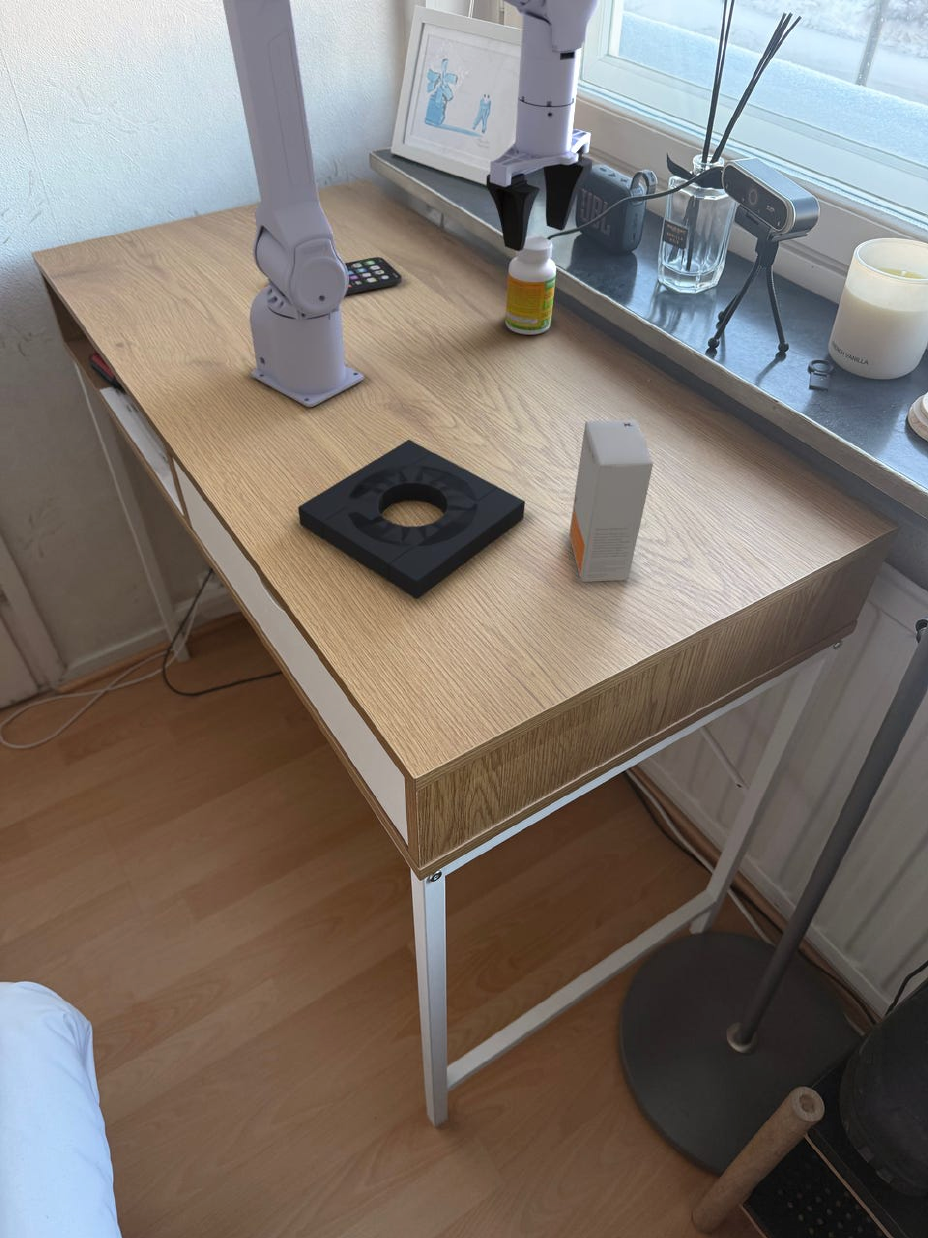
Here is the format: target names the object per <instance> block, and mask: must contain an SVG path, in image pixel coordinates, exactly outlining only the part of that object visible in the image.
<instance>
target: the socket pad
mask: <svg viewBox="0 0 928 1238" xmlns="http://www.w3.org/2000/svg"><path fill="white" fill-rule="evenodd" d="M405 501H406V502H407V501H409V502H410V501H420V502H423V503H424V502H425V503H428V504H431V505H433V506H435V507H436V508H439V509H440V510H441V511H442V513H443V515H442V516H441V517H439V518H438V519H437V520H435V521H433V522H431V523H427V524H424V525H418V526H416V525H415V526H414V525H413V526H406V525H402V524H398V523H393V522H392V521H390V520H388V519H387V518H386V517H384V516H383V512H384V511H385V510H386V509H388V508H390V507H391V506H393V505H395V504H398V503H402V502H405ZM525 504H526V501H525V500H524V499H521V498H519V497H518V496H516V495H514V494H512V493H510V492H508V491H507V490H504V489H503V488H501V487H498V486H497V485H496V484H493V483H492V482H491V481H488V480H486V479H484V478H482V477H480V476H479V475H477V474H475V473H473V472H471V471H469V470H468V469H465V468H464V467H462V466H459V465H458V464H456V463H454V462H453V461H450V460H448V459H447V458H445V457H443V456H441V455H439V454H437V453H435V452H433V451H432V450H430V449H428V448H426V447H424V446H422V445H420V444H419V443H417V442H415V441H413V440H411V439H407V440H406V441H404V442H402V443H400V444H399V445H397V446H396V447H394V448H392V449H391V450H389V451H387V452H386V453H385V454H382V455H381V456H379V457H378V458H376V459H374V460H373V461H371V462H370V463H368V464H366V465H364V466H363V467H361V468H360V469H358V470H357V471H354V472H353V473H352V474H350V475H348V476H347V477H345V478H343V479H342V480H340V481H338V482H337V483H335V484H334V485H332V486H330V487H328V488H327V489H325V490H324V491H322V492H320V493H318V494H317V495H315V496H314V497H312V498H310V499H309V500H307V501H305V502H304V503H302V504H301V505H299V506H298V507H297V511H298V516H299V524H300V526H302V527H303V528H305V529H307V531H310V532H311V533H312V534H314V535H316V536H317V537H319V538H320V539H322V540H323V541H325V542H326V543H328V544H330V545H332V546H333V547H335V548H336V549H338V550H339V551H341V552H342V553H344V554H345V555H347V556H349V557H350V558H352V559H353V560H355V561H356V562H358V563H360V564H361V565H363V566H364V567H366V568H367V569H369V570H371V571H372V572H374V573H375V574H376V575H378V576H380V577H382V578H383V579H384V580H386V581H388V582H390V583H391V584H393V586H396V587H397V588H399V589H400V590H402V591H403V592H404V593H406V594H408V595H409V596H411V597H412V598H414V599H416V600H418V599H420V598H421V597H422V596H424V595H425V594H426V593H427V592H429V591H430V590H431V589H433V588H434V587H435V586H437V585H438V584H440V583H441V582H442V581H444V579H446V578H447V577H448V576H450V575H451V574H453V573H454V572H455V571H456V570H458V569H459V568H460V567H462V566H463V565H464V564H465V563H467V562H468V561H469V560H471V559H472V558H474V557H475V556H476V555H477V554H479V553H480V552H481V551H483V550H484V549H485V548H487V547H488V546H490V545H491V544H492V543H494V541H496V540H497V539H498V538H500V537H501V536H502V535H504V534H505V533H506V532H508V531H509V530H510V529H512V528H513V527H515V525H517V524H519V522H521V521H522V520H523V519H524V517H525Z"/></svg>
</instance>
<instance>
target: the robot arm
mask: <svg viewBox="0 0 928 1238" xmlns="http://www.w3.org/2000/svg"><path fill="white" fill-rule="evenodd" d="M502 1H503V2H505V3H506V4H507V3H508V4H509V5H510V6H513V7H515V8H516V10H517V12H518V13H519V14H520V15H522V28H521V29H522V30H521V46H520V60H519V61H520V62H519V63H520V64H519V76H518V77H519V78H518V95H517V108H516V109H517V110H516V124H515V141H514V143H513V144H512V145H511V146H510V147H509V148H507V149H506V151H504V153H503V154H501V156H499V157H498V158H496V159H494V160H492V161H490V172H489V174H487V175H486V179H485V180H486V182H485V183H486V184H485V186H486V188H487V190H488V192H489V193H490V196H491V198H492V201H493V203H494V205H495V208H496V211H497V214H498V218H499V223H500V227H501V233H502V239H503V244H504V247H505V248H508V249H511V250H514V251H515V252H516V251H521V250H523V247H524V244H525V241H526V236H528V226H529V222H530V221H529V220H530V216H531V213H532V210H533V206H534V203H535V201H536V199H537V196H538V194H539V192H541V191H540V190H541V188H540V187H538V186H535V185H531V184H529V183H528V179H526V175H528V174H531V173H533V172H537V171H538V170H540V169H543V175H544V181H545V183H544V184H545V198H546V199H545V221H546V222H545V223H546V226H547V227H549V228H551V229H554V230H557V231H561V232H562V231H565V229H566V227H567V224H568V222H569V217H570V215H571V212H572V209H573V206H574V204H575V201H576V198H577V196H578V194H579V191H580V190H581V188H582V186H583V184H584V182H585V181H586V179H587V177H588V176H589V175H590V173H591V171H592V170H593V165H594V162H593V160H592V159H591V158H589V157H585V156H582V155H585V154H588V153H590V152H589V151H590V144H591V143H590V142H591V132H587V131H584V130H580V129H577V128H575V129H574V128H573V127H574V119H575V109H576V99H577V89H578V81H579V71H580V62H581V53H582V48H583V44H584V43H585V42H586V37H587V28H588V25H589V23H590V21H591V19H592V18H593V16H594V15H595V12H596V11H597V9H598V6H599V3H600V0H502ZM222 5H223V9H224V15H225V19H226V25H227V28H228V29H227V30H228V36H229V40H230V41H229V42H230V45H231V51H232V57H233V61H234V62H233V63H234V68H235V72H236V77H237V84H238V88H239V93H240V98H241V103H242V109H243V113H244V119H245V122H246V128H247V134H248V139H249V144H250V150H251V155H252V160H253V165H254V168H255V169H254V170H255V176H256V180H257V186H258V191H259V196H260V202H259V204H258V205H257V206H256V208H255V209H254V217H255V218H254V219H255V223H256V230H255V231H256V232H255V236H254V240H253V244H252V245H253V246H252V255H253V259H254V263H255V265H256V267H257V269H258V270H259V271H260V272H261V273H262V275H263V276H265V277H266V278H267V282H268V283H267V284H268V285H267V286H266V287H264V288H263V289H262V290H260V291H259V292H258V293H257V295H256V296H255V297H254V298H253V300H252V303H251V306H250V309H249V310H250V311H249V325H250V330H251V337H252V338H251V339H252V345H253V350H254V357H255V362H256V369H253V370H252V371H251V372H250V374H251V377H252V378H254V379H255V380H258V381H260V382H261V383H263V384H265V385H267V386H269V387H270V388H272V389H274V390H275V391H278V392H280V393H282V394H283V395H285V396H287V397H289V398H290V399H292V400H294V401H296V402H298V403H299V404H301V405H303V406H305V407H307V408H313V407H315V406H317V405H319V404H321V403H323V402H324V401H326V400H328V399H330V398H332V397H334V396H336V395H337V394H340V393H342V392H343V391H345V390H347V389H349V388H351V387H353V386H354V385H357V384H358V383H360V382H362V381H363V380H364V378H365V377H364V374H363V373H361V372H359V371H357V370H355V369H353V368H351V367H349V366H347V365H346V357H345V345H344V332H343V319H342V305H341V303H342V302H343V300H344V298H345V297H346V296H347V295H346V292H347V289H348V284H349V276H348V271H347V267H346V265H345V263H346V262H345V261H344V260H343V258H341V256H340V254H339V253H338V251H337V248H336V243H335V237H334V233H333V230H332V228H331V225H330V223H329V220H328V219H327V216H326V214H325V212H324V210H323V208H322V205H321V203H320V197H319V191H318V190H319V189H318V183H317V178H316V171H315V163H314V157H313V150H312V149H313V148H312V143H311V135H310V129H309V122H308V115H307V108H306V101H305V95H304V88H303V79H302V74H301V67H300V60H299V53H298V46H297V39H296V32H295V26H294V19H293V18H294V17H293V11H292V5H291V0H222Z"/></svg>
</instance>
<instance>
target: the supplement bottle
mask: <svg viewBox="0 0 928 1238" xmlns="http://www.w3.org/2000/svg"><path fill="white" fill-rule="evenodd" d="M552 250H553V242H552V241H551V240H550V239H549V238H546V237H544V236H540V235H526V241H525V244H524V247H523V250H521V251H516V250H515V257H514V258H512V259H511V261H510V262H509V265H508V270H507V271H508V273H507V286H506V287H507V288H506V301H505V302H506V303H505V318H504V321H505V326H506V327H507V328H508V329H509V330H510V331H512V332H514V333H517V334H521V335H540V334H542V333H545V332H546V331H548V330H549V328H550V327H551V323H552V316H553V315H552V313H553V303H554V295H555V285H556V276H557V267H556V263H555V262H554V261H553V260H552V259H551V258H552V252H553V251H552Z"/></svg>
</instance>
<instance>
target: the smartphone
mask: <svg viewBox="0 0 928 1238" xmlns="http://www.w3.org/2000/svg"><path fill="white" fill-rule="evenodd" d="M344 263H345V265H346V267H347V271H348V276H349V284H348V289H347V292H346V295H345V296H347V295H352V294H356V293H360V292H361V293H363V292H366V291H372V290H376V289H381V288H385V287H390V286H395V285H398V284H399V285H400V284H401V283H402V282H403V276H402V275H401V274H400V273H399V272H398V271H397V270H396V269H395V268H394V267H393V266H391V264H390V263H389V262H388V261H387V260H385V258H383V257H378V256H376V257H375V256H374V257H370V258H365V259H359V260H353V261H349V262H344Z"/></svg>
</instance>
